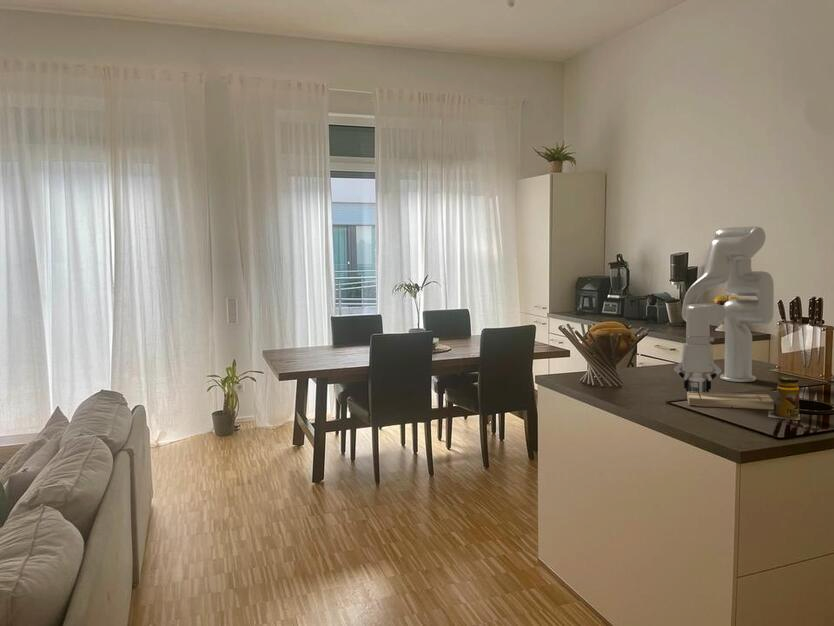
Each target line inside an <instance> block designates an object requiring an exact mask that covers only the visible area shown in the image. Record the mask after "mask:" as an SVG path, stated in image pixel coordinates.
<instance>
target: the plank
mask: <svg viewBox="0 0 834 626" xmlns="http://www.w3.org/2000/svg"><path fill="white" fill-rule="evenodd" d="M686 392H687V393H686V394H687V395H686V396H687V397H686V398H687V399H686V400H687V403H688V406H689V405H694V406H695V405H696V406H695V407H710V408H711V407H712V408H713V407H714V408H731V407H733V408H735V409H736V408H737V409H753V410H755V409H756V410H772V411H773V410H775V401H774V400H773V398H772V397H771V395H769V394H757V393H756V394H755V393H753V394H752V393H751V394H750V393H733V392H732V393H729V392H728V393H727V392H710V391H709V392H689V391H686ZM694 406H693V407H694Z"/></svg>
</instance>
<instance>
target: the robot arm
mask: <svg viewBox="0 0 834 626" xmlns="http://www.w3.org/2000/svg"><path fill="white" fill-rule="evenodd" d="M765 242H766V232H765V230H764V228H762V227H759V226H739V227H738V226H737V227H736V226H735V227H724V228H720V229H718V230H717V231H716V230H715V233H714V239H713V240H712V241H711V242H710V244H709V248H708V250H707V251H708V252H707V257H706V262H705V265H704V270H703V274H702V275H701V277H699V278H697V280H696V281H694V283H692V284H691V286H689V288H688V290H687V291H686V293H685V294H684V299H683V304H682V307H681V308H682V309H681V317H682V320H683V321H684V322H686V324H685V327H686V328H685V330H686V331H685V343H683V347H682V353H681V362H679V363H678V364H677V365H676V366H675V367H674V368H673V370H674V372H675V373H676V374H677V375H679V376H680V377H681V378H682V379H683V389H685V391H686V392H689V375H691V373H703V374H705V375H706V379H705V385H706V392H709V393H710V390H711V389H712V381H713V379H715V378H716V377H717V376H718V375H719V378H720V379H721V380H723V381H728V382H734V383H737V382H738V383H750V382H755V381H756V380H757V376H755V375H753V374H752V370H753V369H752V366H753V361H752V360H753V357H752V356H753V334H752V332H751V330H750V329H749V327H748V326H747V325H758V326H759V325H760V326H762V325H765V326H766V325H769V324H771V323H772V321H773V318H774V311H775V310H774V299H775V297H774V294H775V293H774V291H775V290H774V288H775V287H774V286H775V285H774V279H773V276H772V275H771V274H770V272H767V271H762V270H761V271H759V270H757V271H753V270H752V258H753V257H754V256H755V255H756V254H757V253H758V252H759V251H761V249H762V248H763V246H764V244H765ZM725 283H726V289H727V292H728V294H730V295H732V296H738V297H739V296H741V297H756V298H757V299H748V298H747V299H745V298H734V299H728V300H726V302H724V303H723V305H721V304H719V303H710V302H697V300H698V298H699V297H700V296H701V295H702V294H704V293H705V292H706V291H709V290H711V289H713V288H716V287H718V286H721V285H725ZM723 321H724V322H723ZM721 323H724V373H722V369H721V368H720V367H719V366H718V365H717V364H716V363H715V362H714V353H713V351H714V350H713V345H712V343H711V342H715V337H713V336H711V335H710V333H711V332H710V328H711V327H710V325H711V326H712V325H713V326H714V325H719V324H721ZM680 369H682V371H681V370H680ZM713 371H714V372H713ZM721 373H722V374H721Z"/></svg>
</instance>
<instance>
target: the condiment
mask: <svg viewBox="0 0 834 626" xmlns="http://www.w3.org/2000/svg"><path fill="white" fill-rule="evenodd" d="M775 404H776V405H775V411H773V410H768V413H767V414H768V415H767V417H768V418H776V419H785V420H795V421H800V420H801V415H800V410H799V409H800V387H799V379H798V378H796V377H792V376H780V377H778V382H777V386H776V400H775Z"/></svg>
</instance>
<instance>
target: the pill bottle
mask: <svg viewBox="0 0 834 626" xmlns="http://www.w3.org/2000/svg"><path fill="white" fill-rule="evenodd" d="M688 380H689V391H688V392H706V378H705V377H704V373H690V377H689V378H688Z"/></svg>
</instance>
